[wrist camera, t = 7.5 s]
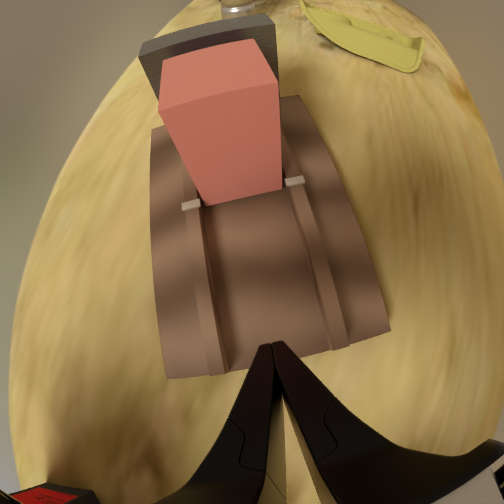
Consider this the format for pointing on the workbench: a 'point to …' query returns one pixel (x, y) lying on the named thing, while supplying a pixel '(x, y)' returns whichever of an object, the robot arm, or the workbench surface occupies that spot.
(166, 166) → the wooden pallet
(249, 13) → the plastic bottle
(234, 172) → the pink rectangular block
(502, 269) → the workbench surface
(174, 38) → the end stop
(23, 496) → the cleaning product box
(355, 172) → the workbench surface
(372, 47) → the plastic component
